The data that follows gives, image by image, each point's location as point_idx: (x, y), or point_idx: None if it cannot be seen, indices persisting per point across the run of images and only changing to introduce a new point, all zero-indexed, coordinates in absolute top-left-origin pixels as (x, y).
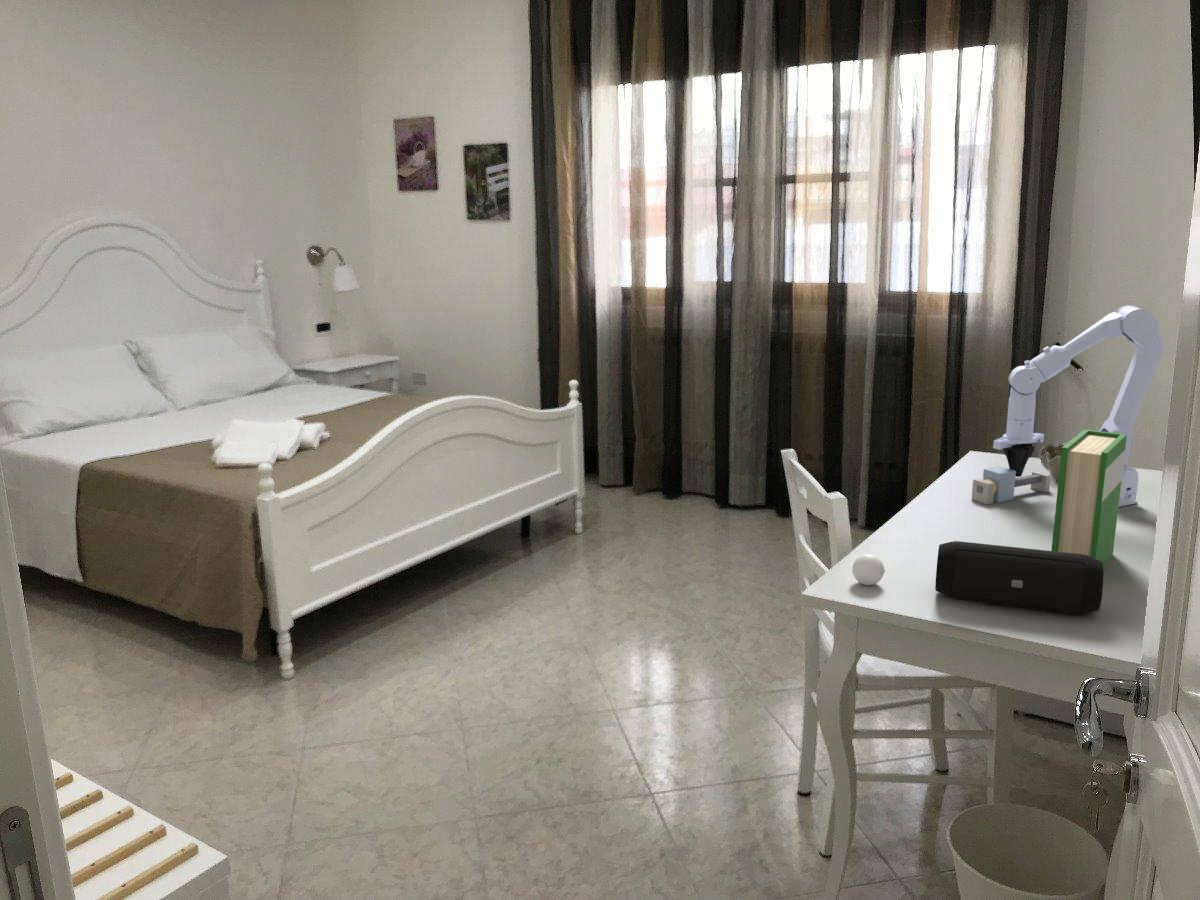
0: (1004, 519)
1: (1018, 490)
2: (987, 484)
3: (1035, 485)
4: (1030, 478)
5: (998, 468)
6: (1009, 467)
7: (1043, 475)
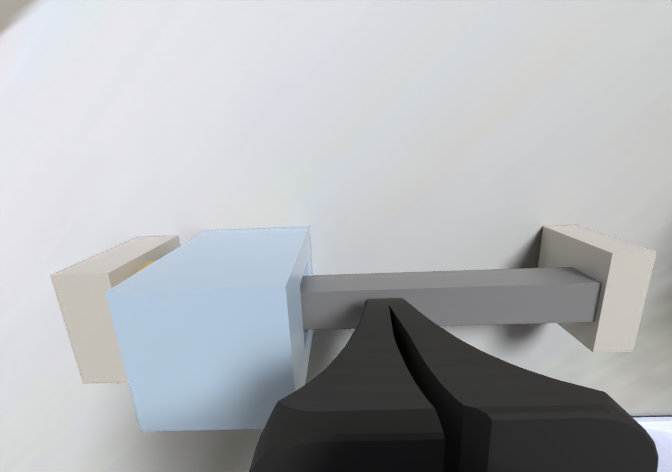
0: (98, 463)
1: (458, 225)
2: (83, 376)
3: (553, 258)
4: (488, 322)
5: (229, 331)
6: (361, 319)
7: (595, 332)
